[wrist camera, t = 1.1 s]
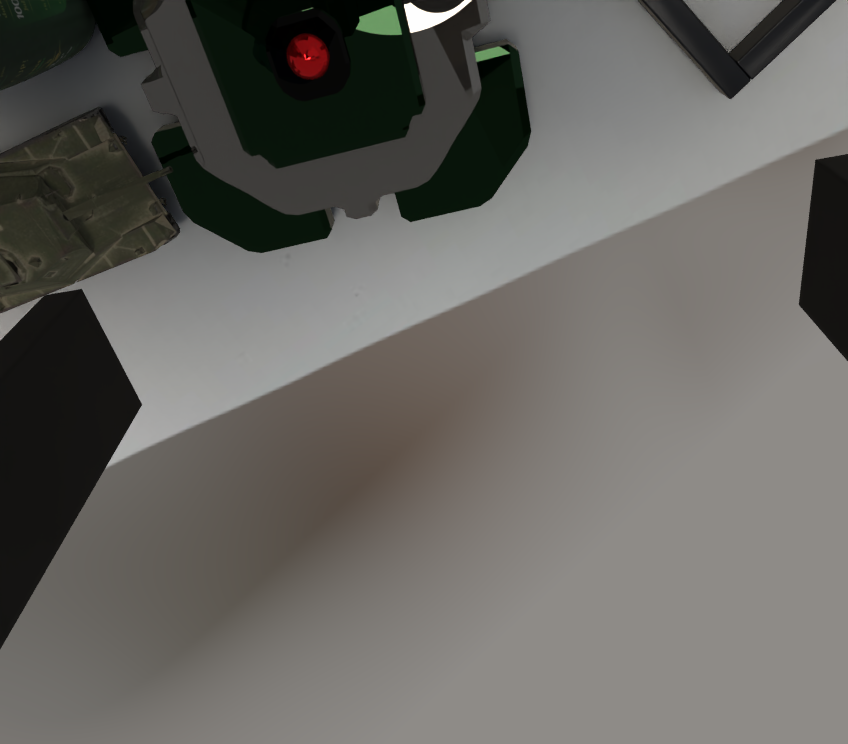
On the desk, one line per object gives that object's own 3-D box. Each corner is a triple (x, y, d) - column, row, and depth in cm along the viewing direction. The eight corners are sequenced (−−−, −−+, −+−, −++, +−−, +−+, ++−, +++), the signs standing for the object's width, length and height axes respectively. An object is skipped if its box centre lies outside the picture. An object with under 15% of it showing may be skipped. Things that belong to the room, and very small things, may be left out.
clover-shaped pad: (535, 175, 38) (546, 207, 34) (220, 248, 40) (198, 286, 36) (464, -261, 28) (469, -284, 24) (54, -126, 30) (0, -128, 27)
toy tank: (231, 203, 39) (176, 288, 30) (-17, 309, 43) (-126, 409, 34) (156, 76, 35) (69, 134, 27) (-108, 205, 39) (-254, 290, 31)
